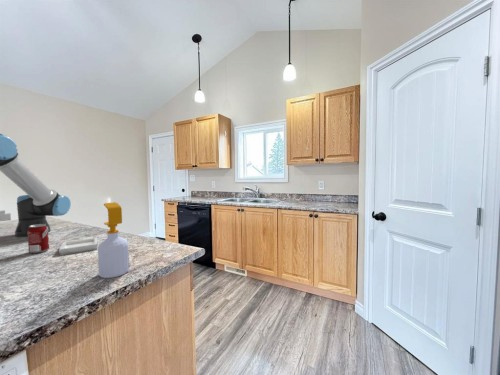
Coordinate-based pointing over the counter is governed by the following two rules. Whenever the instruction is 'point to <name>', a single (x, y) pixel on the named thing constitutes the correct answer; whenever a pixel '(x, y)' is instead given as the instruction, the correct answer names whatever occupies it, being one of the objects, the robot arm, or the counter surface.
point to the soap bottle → (113, 246)
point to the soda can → (38, 238)
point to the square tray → (78, 246)
